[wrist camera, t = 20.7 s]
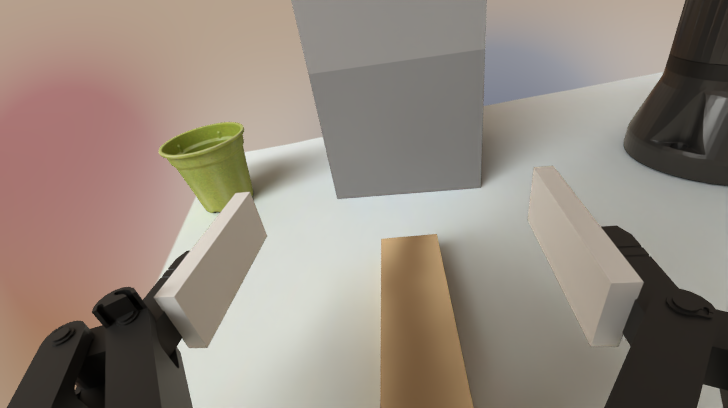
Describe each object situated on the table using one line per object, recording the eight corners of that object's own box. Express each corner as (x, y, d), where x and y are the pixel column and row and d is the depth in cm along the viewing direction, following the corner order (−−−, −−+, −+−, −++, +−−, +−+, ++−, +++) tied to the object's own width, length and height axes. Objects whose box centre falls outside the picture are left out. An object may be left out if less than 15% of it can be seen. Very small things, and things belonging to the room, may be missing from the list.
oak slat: (437, 261, 29) (436, 234, 28) (510, 633, 13) (518, 619, 11) (385, 265, 30) (381, 239, 28) (389, 628, 13) (379, 612, 12)
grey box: (464, 130, 51) (464, -150, 35) (486, 189, 37) (504, -236, 21) (351, 142, 54) (304, -112, 38) (332, 201, 40) (244, -164, 24)
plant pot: (202, 233, 38) (166, 163, 34) (184, 203, 45) (152, 142, 40) (277, 198, 42) (255, 131, 38) (250, 175, 49) (228, 116, 44)
